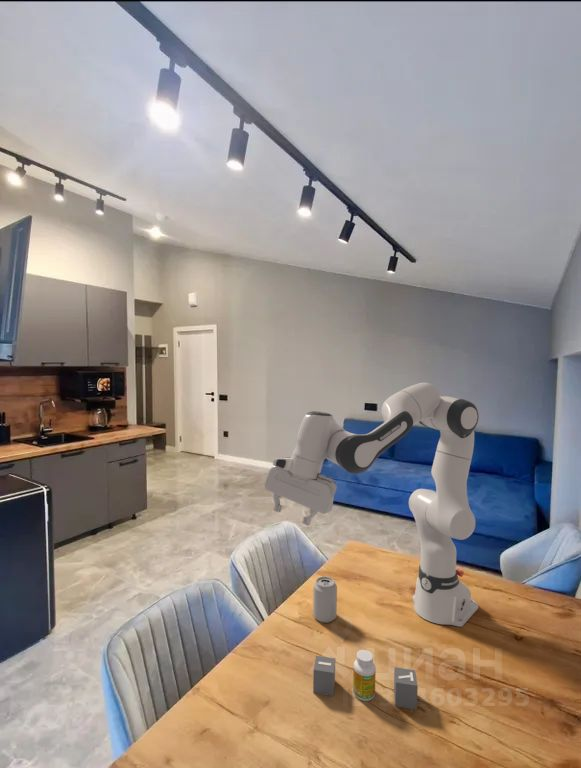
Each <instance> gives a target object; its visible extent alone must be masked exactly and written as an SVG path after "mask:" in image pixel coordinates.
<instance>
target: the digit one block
mask: <svg viewBox="0 0 581 768" xmlns="http://www.w3.org/2000/svg"><path fill="white" fill-rule="evenodd" d="M312 676H313V679H312V680H313V682H312V683H313V685H312V688H313V689H312V690H313V691H312V692H313V693H314V694H319V695H325V696H332V697H334V694H335V683H336V658H335V657H328V656H322V655H316V656H315V659H314V665H313V675H312Z"/></svg>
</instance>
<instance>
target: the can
mask: <svg viewBox="0 0 581 768" xmlns="http://www.w3.org/2000/svg"><path fill="white" fill-rule="evenodd" d="M337 585H338V584H336V581H335V579H333V578H332V577H330V576H326V575H325V576H319V577H316V580H315V582H314V583H313V598H312V600H313V601H312V602H313V603H312V604H313V605H312V608H313V609H312V615H313V617H314V618H315V619H316V620H317V622H320V623H324V624H325V623H326V624H327V623H332V621H334V620H335V619H336V618H337V605H338V603H337V602H338V601H337V599H338V586H337Z"/></svg>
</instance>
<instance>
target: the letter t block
mask: <svg viewBox="0 0 581 768" xmlns="http://www.w3.org/2000/svg"><path fill="white" fill-rule="evenodd" d="M393 671H394V675H393V679H394V680H393V695H394V697H393V698H394V706H395V707H398V708H402V709H404V708H405V709H410V710H416V711H417V710H418V679H417V674H416V669H409V668H404V667H396V666H394V670H393Z"/></svg>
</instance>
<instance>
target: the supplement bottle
mask: <svg viewBox="0 0 581 768" xmlns="http://www.w3.org/2000/svg"><path fill="white" fill-rule="evenodd" d="M376 668H377V667H376V664H375V663H374V656H373V654H372V652H371V651H369V650H366V649H360V650H358V651H357V653H356V659H355V660H354V662H353V677H352V679H353V680H352V682H353V684H352V691H353V694H354V696H355V697H356V698H357V699H358V700H360V701H363V702H369V701H372V700H373V699H374V698H375V696H376V675H377V674H376V672H377V670H376Z"/></svg>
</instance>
